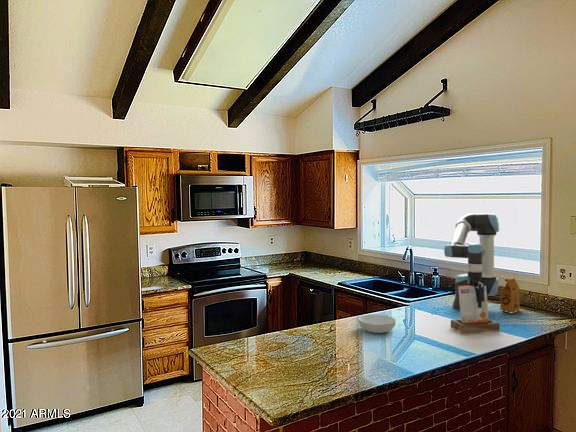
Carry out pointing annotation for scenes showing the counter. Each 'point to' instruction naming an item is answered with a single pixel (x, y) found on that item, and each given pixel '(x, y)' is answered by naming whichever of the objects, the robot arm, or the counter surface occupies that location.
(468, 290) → the cracker box
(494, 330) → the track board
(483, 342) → the counter surface
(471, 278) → the robot arm
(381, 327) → the serving bowl
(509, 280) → the coffee package
